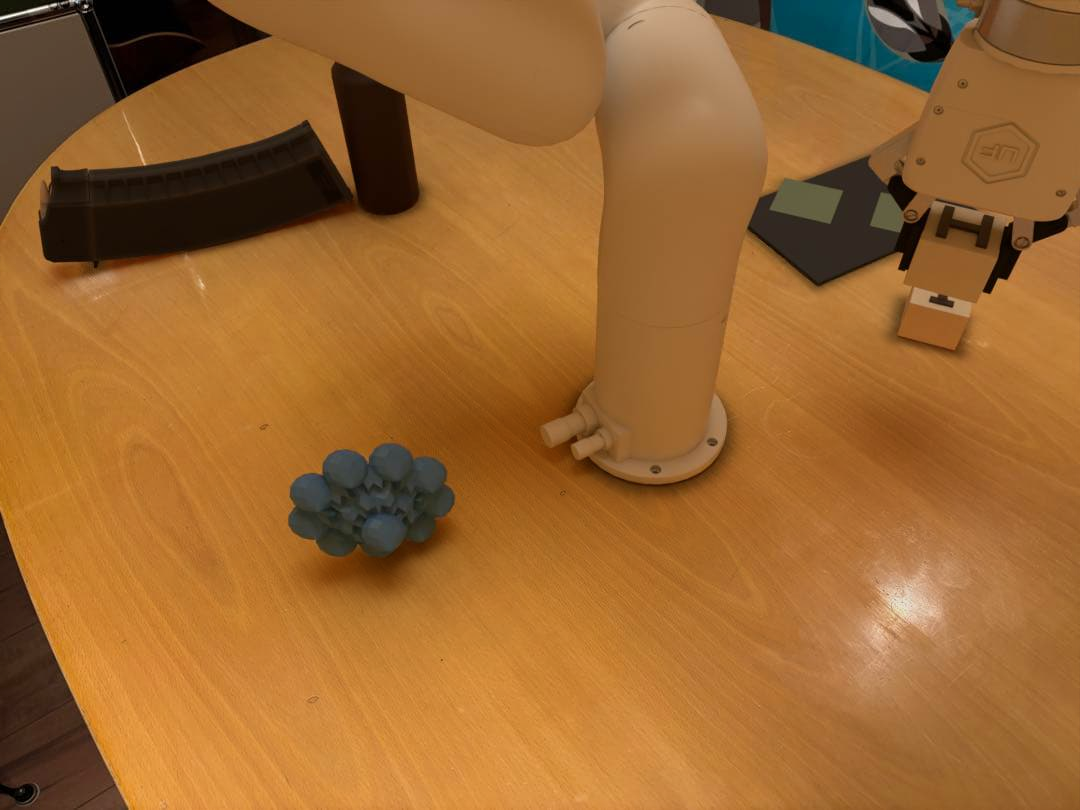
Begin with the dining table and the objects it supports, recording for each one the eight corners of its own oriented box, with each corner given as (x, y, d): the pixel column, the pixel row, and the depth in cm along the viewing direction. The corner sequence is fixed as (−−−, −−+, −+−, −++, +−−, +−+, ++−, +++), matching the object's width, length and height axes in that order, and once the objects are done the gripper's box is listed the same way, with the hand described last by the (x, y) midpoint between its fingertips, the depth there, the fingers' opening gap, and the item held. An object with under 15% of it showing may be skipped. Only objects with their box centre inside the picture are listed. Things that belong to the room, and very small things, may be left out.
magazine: (357, 116, 90) (22, 95, 77) (364, 132, 88) (21, 113, 75) (340, 254, 101) (45, 256, 88) (346, 271, 99) (45, 275, 86)
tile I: (954, 350, 78) (970, 315, 75) (896, 335, 79) (910, 299, 76) (961, 316, 81) (977, 280, 78) (906, 302, 82) (919, 266, 79)
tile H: (976, 304, 61) (999, 255, 57) (902, 284, 62) (921, 235, 59) (986, 263, 64) (1009, 214, 60) (916, 245, 65) (934, 196, 62)
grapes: (322, 625, 61) (280, 530, 52) (302, 549, 66) (260, 449, 57) (478, 568, 64) (463, 469, 55) (449, 500, 68) (431, 397, 59)
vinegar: (346, 195, 96) (306, 14, 81) (398, 172, 99) (368, -7, 84) (379, 223, 93) (342, 39, 78) (431, 199, 95) (406, 17, 81)
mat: (824, 291, 84) (825, 288, 83) (720, 205, 93) (720, 201, 93) (987, 220, 91) (988, 216, 90) (874, 146, 100) (875, 143, 100)
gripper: (884, 18, 49) (815, 268, 63) (1226, 79, 44) (1070, 338, 58) (910, -32, 54) (840, 212, 67) (1223, 19, 49) (1078, 273, 62)
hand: (947, 268), depth 62 cm, fingers closed on tile H, 5 cm apart
